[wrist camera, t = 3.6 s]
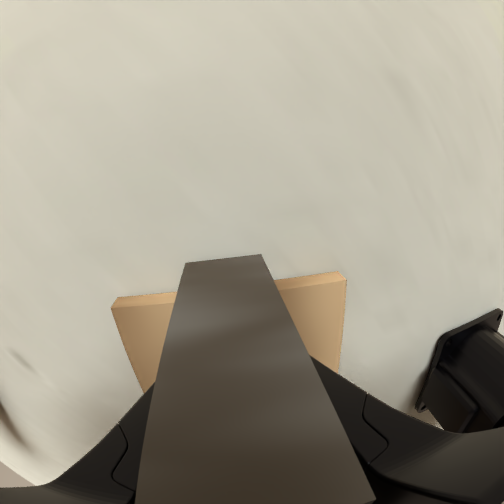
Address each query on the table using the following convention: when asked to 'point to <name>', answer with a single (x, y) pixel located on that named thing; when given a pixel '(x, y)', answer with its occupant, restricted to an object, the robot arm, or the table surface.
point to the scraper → (241, 388)
